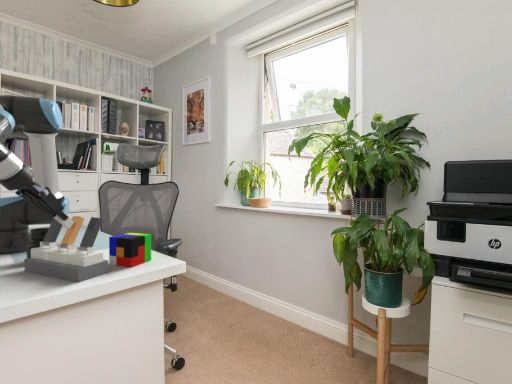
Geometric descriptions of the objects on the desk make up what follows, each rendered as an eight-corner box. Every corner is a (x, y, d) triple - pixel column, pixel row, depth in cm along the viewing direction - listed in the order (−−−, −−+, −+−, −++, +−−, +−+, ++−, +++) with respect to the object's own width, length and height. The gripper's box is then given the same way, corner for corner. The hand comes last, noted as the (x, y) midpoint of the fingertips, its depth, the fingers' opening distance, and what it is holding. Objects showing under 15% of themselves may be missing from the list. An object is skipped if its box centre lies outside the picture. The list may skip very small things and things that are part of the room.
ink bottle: (39, 266, 98) (39, 231, 98) (19, 264, 100) (18, 230, 100) (63, 258, 108) (63, 227, 108) (44, 257, 110) (44, 226, 109)
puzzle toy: (109, 264, 101) (109, 237, 101) (130, 258, 110) (130, 232, 110) (131, 267, 98) (131, 239, 97) (151, 260, 107) (151, 234, 107)
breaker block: (56, 263, 102) (55, 213, 101) (108, 272, 92) (108, 217, 92) (24, 271, 92) (23, 216, 92) (78, 282, 83) (78, 221, 82)
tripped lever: (64, 248, 93) (78, 218, 97) (71, 249, 92) (84, 218, 96) (58, 247, 91) (73, 215, 96) (65, 248, 90) (79, 216, 94)
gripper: (-15, 181, 77) (49, 233, 93) (13, 181, 72) (76, 235, 88) (8, 163, 82) (65, 215, 98) (36, 162, 77) (91, 217, 93)
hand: (70, 225), depth 93 cm, fingers closed
